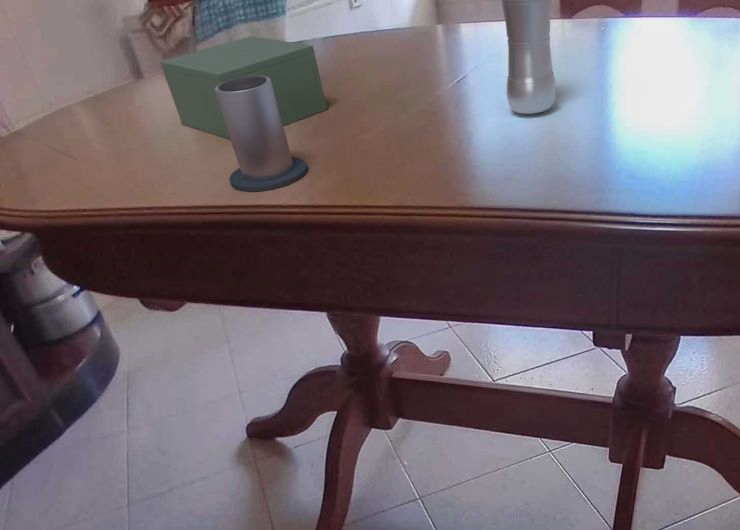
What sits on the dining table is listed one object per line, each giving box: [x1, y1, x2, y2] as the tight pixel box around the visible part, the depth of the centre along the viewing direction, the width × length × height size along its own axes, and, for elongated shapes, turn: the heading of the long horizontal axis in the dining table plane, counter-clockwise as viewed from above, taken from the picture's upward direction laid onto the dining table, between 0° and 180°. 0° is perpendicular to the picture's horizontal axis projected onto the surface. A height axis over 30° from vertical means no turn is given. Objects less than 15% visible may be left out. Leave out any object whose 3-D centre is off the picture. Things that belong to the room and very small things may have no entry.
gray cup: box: [215, 76, 294, 181], centre depth 79 cm, size 6×6×10 cm
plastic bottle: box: [500, 0, 557, 115], centre depth 86 cm, size 6×7×20 cm
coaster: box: [228, 156, 309, 193], centre depth 82 cm, size 9×9×1 cm
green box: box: [159, 35, 328, 141], centre depth 99 cm, size 16×15×9 cm
